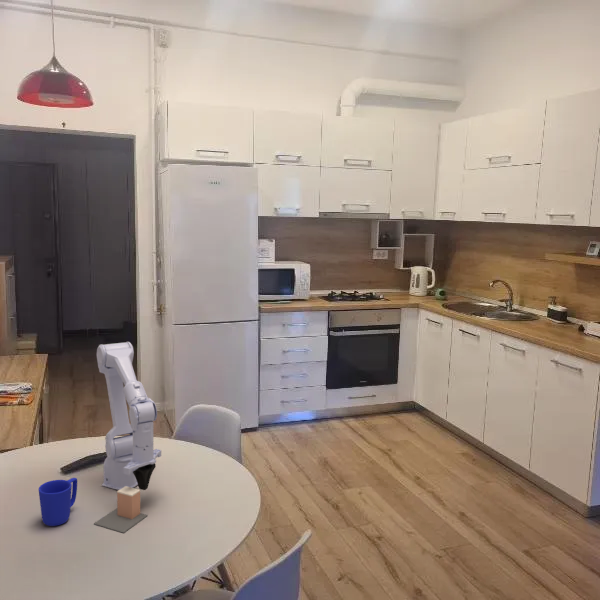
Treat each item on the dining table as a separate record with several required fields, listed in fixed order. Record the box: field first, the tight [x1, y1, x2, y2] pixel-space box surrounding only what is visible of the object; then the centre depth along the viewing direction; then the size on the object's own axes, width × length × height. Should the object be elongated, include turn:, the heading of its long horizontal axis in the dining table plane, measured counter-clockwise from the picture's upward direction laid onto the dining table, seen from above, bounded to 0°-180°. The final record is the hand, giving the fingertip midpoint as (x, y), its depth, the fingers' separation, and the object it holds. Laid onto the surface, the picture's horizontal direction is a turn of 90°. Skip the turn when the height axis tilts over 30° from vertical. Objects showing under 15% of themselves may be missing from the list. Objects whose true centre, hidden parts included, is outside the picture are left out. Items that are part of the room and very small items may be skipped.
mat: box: [93, 507, 148, 534], centre depth 160 cm, size 10×10×1 cm
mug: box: [38, 477, 78, 527], centre depth 159 cm, size 8×12×10 cm
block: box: [116, 486, 141, 519], centre depth 162 cm, size 5×4×7 cm
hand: (143, 488), depth 168 cm, fingers closed
